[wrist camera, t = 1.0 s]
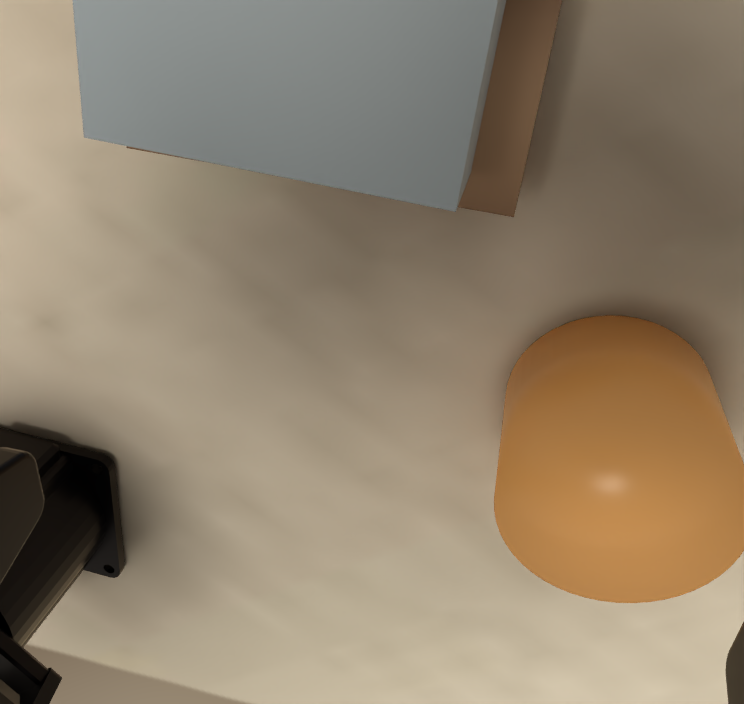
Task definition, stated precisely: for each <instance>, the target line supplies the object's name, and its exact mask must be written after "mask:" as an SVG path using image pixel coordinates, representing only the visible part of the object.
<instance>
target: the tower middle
mask: <svg viewBox="0 0 744 704" xmlns="http://www.w3.org/2000/svg"><path fill="white" fill-rule="evenodd" d="M505 4H506V0H73V10H74V22H75V34H76V46H77V59H78V71H79V83H80V95H81V107H82V119H83V131H84V138H89V139H94V140H99V141H104V142H109V143H114V144H119V145H124V146H129V147H134V148H139V149H144V150H149V151H154V152H159V153H164V154H169V155H174V156H179V157H184V158H189V159H194V160H199V161H204V162H209V163H214V164H219V165H224V166H229V167H234V168H239V169H244V170H249V171H254V172H259V173H264V174H269V175H274V176H279V177H284V178H289V179H294V180H299V181H304V182H309V183H314V184H319V185H324V186H329V187H334V188H339V189H344V190H349V191H354V192H359V193H364V194H369V195H374V196H379V197H384V198H389V199H394V200H399V201H404V202H409V203H414V204H419V205H424V206H429V207H434V208H439V209H444V210H449V211H454V212H456V210H457V207H458V205H459V202H460V199H461V197H462V194H463V192H464V189H465V187H466V184H467V181H468V179H469V176H470V174H471V169H472V165H473V160H474V155H475V150H476V145H477V140H478V135H479V130H480V126H481V121H482V116H483V111H484V106H485V101H486V96H487V91H488V87H489V82H490V77H491V72H492V67H493V62H494V57H495V52H496V48H497V43H498V38H499V33H500V28H501V23H502V18H503V14H504V9H505Z"/></svg>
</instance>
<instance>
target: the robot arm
mask: <svg viewBox="0 0 744 704" xmlns="http://www.w3.org/2000/svg"><path fill="white" fill-rule="evenodd" d="M100 466H101V467H100ZM124 567H125V561H124V551H123V542H122V532H121V522H120V512H119V502H118V492H117V482H116V473H115V465H114V462H113V461H112V459H111V458H110V457H108V456H107V455H105V454H103V453H99V452H95V451H91V450H87V449H83V448H79V447H75V446H71V445H67V444H63V443H59V442H55V441H51V440H47V439H43V438H39V437H35V436H31V435H27V434H23V433H19V432H15V431H11V430H7V429H3V428H0V704H49V703H50V701H51V699H52V697H53V695H54V693H55V691H56V689H57V687H58V685H59V683H60V681H61V679H62V677H61V676H60V675H59V674H57V673H56V672H55V671H54V670H53V669H52V668H48V669H47V668H46V667H45V666H44V665H43V664H42V663H40V662H39V661H38V660H37V659H36V658H34V657H33V656H32V655H31V654H30V653H29V652H28V651H26V650H25V649H24V648H23V647H24V646H25V645H26V643H27V642H28V641H29V639H30V638H31V637H32V636H33V634H34V633H35V632H36V630H37V629H38V628H39V626H40V625H41V624H42V623H43V621H44V620H45V619H46V617H47V616H48V615H49V614H50V612H51V611H52V610H53V608H54V607H55V606H56V605H57V603H58V602H59V601H60V599H61V598H62V597H63V595H64V594H65V593H66V592H67V590H68V589H69V588H70V586H71V585H72V584H73V583H74V581H75V580H76V579H77V577H78V576H79V575H80V574H81V572H82V571H83V570H86V571H90V572H93V573H97V574H100V575H104V576H108V577H113V578H115V577H118V576H119V575H120V573H121V572H122V571H123V569H124ZM726 682H727V693H728V704H744V622H743V624H742V626H741V628H740V630H739V632H738V634H737V636H736V638H735V640H734V642H733V644H732V646H731V648H730V650H729V653H728V656H727V661H726Z"/></svg>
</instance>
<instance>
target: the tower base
mask: <svg viewBox="0 0 744 704" xmlns="http://www.w3.org/2000/svg"><path fill="white" fill-rule="evenodd" d="M561 3H562V0H506V4H505V9H504V14H503V18H502V23H501V28H500V33H499V38H498V43H497V48H496V52H495V57H494V62H493V67H492V72H491V77H490V82H489V87H488V91H487V96H486V101H485V106H484V111H483V116H482V121H481V126H480V130H479V135H478V140H477V145H476V150H475V155H474V160H473V165H472V169H471V174H470V176H469V179H468V181H467V184H466V187H465V189H464V192H463V194H462V197H461V199H460V202H459V205H458V207H461V208H466V209H472V210H477V211H483V212H489V213H494V214H500V215H505V216H511V217H514V214H515V210H516V205H517V201H518V196H519V192H520V187H521V183H522V178H523V174H524V169H525V165H526V160H527V156H528V151H529V147H530V142H531V138H532V133H533V129H534V124H535V120H536V115H537V111H538V106H539V102H540V97H541V93H542V89H543V84H544V80H545V75H546V71H547V66H548V62H549V57H550V53H551V48H552V44H553V39H554V35H555V30H556V26H557V21H558V17H559V12H560V8H561ZM127 148H130V149H136V150H142V151H147V152H153V153H158V154H164V153H159V152H154V151H149V150H144V149H139V148H134V147H129V146H127ZM164 155H169V154H164ZM170 156H174V155H170ZM175 157H179V156H175ZM181 158H184V157H181ZM186 159H189V158H186ZM192 160H194V159H192ZM198 161H199V160H198ZM203 162H204V161H203Z"/></svg>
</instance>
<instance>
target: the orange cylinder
mask: <svg viewBox="0 0 744 704" xmlns="http://www.w3.org/2000/svg"><path fill="white" fill-rule="evenodd" d="M494 511H495V517H496V522H497V525H498V528H499V531H500V534H501V536H502V538H503V540H504V542H505V543H506V545H507V546H508V548H509V549H510V551H511V552H512V553H513V555H514V556H515V557H516V558H517V559H518V560H519V561H520V562H521V563H522V564H523V565H524V566H525V567H526V568H527V569H529V570H530V571H531V572H532V573H534V574H535V575H537V576H538V577H540V578H541V579H543V580H544V581H546V582H548V583H550V584H552V585H553V586H555V587H557V588H560V589H562V590H565V591H567V592H569V593H572V594H576V595H579V596H582V597H585V598H590V599H595V600H600V601H608V602H616V603H640V602H652V601H658V600H664V599H668V598H672V597H676V596H680V595H683V594H685V593H688V592H691V591H694V590H696V589H698V588H700V587H702V586H704V585H706V584H708V583H709V582H711V581H712V580H714V579H716V578H717V577H719V576H720V575H721V574H722V573H724V572H725V571H726V570H727V569H728V568H730V567H731V566H732V565H733V563H734V562H735V561H736V560H737V559H738V558H739V557H740V555H741V554H742V552H743V551H744V463H743V461H742V458H741V455H740V453H739V450H738V448H737V445H736V442H735V440H734V437H733V434H732V432H731V429H730V427H729V424H728V421H727V419H726V416H725V413H724V411H723V408H722V406H721V403H720V400H719V398H718V395H717V392H716V390H715V387H714V384H713V382H712V379H711V377H710V374H709V371H708V369H707V367H706V365H705V364H704V362H703V360H702V359H701V357H700V356H699V355H698V353H697V352H696V351H695V349H694V348H692V347H691V346H690V345H689V344H688V343H687V342H686V341H685V340H684V339H682V338H681V337H680V336H678V335H677V334H676V333H674V332H672V331H670V330H668V329H667V328H665V327H663V326H660V325H658V324H655V323H653V322H650V321H647V320H643V319H639V318H634V317H627V316H612V315H605V316H594V317H588V318H583V319H578V320H575V321H572V322H569V323H566V324H564V325H561V326H559V327H557V328H555V329H553V330H551V331H550V332H548V333H546V334H545V335H543V336H541V337H540V338H539V339H538V340H536V341H535V342H534V343H533V344H532V345H531V346H530V347H529V348H528V349H527V350H526V351H525V352H524V353H523V354H522V356H521V357H520V358H519V360H518V361H517V363H516V364H515V366H514V368H513V370H512V372H511V375H510V378H509V381H508V384H507V390H506V396H505V405H504V414H503V424H502V433H501V442H500V451H499V460H498V469H497V478H496V487H495V496H494Z"/></svg>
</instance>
